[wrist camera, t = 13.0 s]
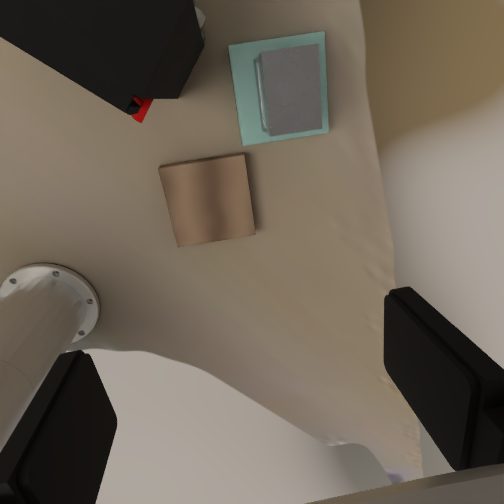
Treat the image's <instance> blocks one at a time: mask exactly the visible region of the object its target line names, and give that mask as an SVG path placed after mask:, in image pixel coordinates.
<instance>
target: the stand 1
mask: <svg viewBox="0 0 504 504" xmlns="http://www.w3.org/2000/svg"><path fill="white" fill-rule="evenodd" d="M158 170H159V174H160V178H161V182H162V186H163V190H164V194H165V198H166V202H167V206H168V210H169V214H170V218H171V222H172V226H173V230H174V234H175V238H176V242H177V246H178V247H183V246H189V245H195V244H202V243H208V242H214V241H220V240H226V239H232V238H238V237H244V236H250V235H256V233H255V226H254V219H253V212H252V205H251V198H250V191H249V185H248V178H247V171H246V164H245V157H244V153H236V154H230V155H224V156H217V157H211V158H204V159H198V160H192V161H185V162H179V163H173V164H166V165H161V166H160V167H159V168H158Z"/></svg>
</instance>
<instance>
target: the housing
mask: <svg viewBox="0 0 504 504" xmlns="http://www.w3.org/2000/svg"><path fill="white" fill-rule="evenodd" d="M258 56H259V57H257V58H255V59H254V60H253V61H254V70H255V78H256V86H257V95H258V103H259V112H260V120H261V129H262V131H263V132H267V135H269V136H270V137H272V136H278V135H285V134H291V133H298V132H304V131H311V130H317V129H323V128H322V107H321V86H320V65H319V44H318V43H317V44H310V45H304V46H297V47H290V48H283V49H277V50H270V51H263V52H260V54H259V55H258Z"/></svg>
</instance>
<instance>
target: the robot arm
mask: <svg viewBox="0 0 504 504" xmlns="http://www.w3.org/2000/svg"><path fill="white" fill-rule="evenodd" d="M99 313H100V305H99V300H98V297H97V294H96V293H95V291H94V289H93V288H92V286H91V285H90V284H89V283H88V282H87V281H86V280H85V279H84V278H83V277H81V276H80V275H79V274H77V273H75V272H74V271H72V270H70V269H67V268H65V267H63V266H59V265H54V264H46V263H39V264H31V265H27V266H24V267H22V268H20V269H18V270H16V271H15V272H13V273H12V274H11V275H9V276H8V277H7V278H6V279H5V280H4V282H3V284H2V285H1V287H0V504H95V503H96V499H97V496H98V492H99V489H100V485H101V482H102V478H103V475H104V471H105V468H106V464H107V460H108V457H109V454H110V450H111V446H112V443H113V439H114V436H115V432H116V429H117V417H116V414H115V411H114V409H113V407H112V405H111V402H110V400H109V397H108V395H107V393H106V391H105V388H104V386H103V383H102V381H101V379H100V376H99V374H98V372H97V369H96V367H95V365H94V363H93V360H92V358H91V356H90V355H89V354H85V353H84V352H83V351H82V350H77V351H72V352H67V353H65V352H66V350H67V349H68V347H69V345H70V344H71V343H74V342H76V341H79V340H81V339H82V338H84V337H85V336H87V335H88V334H89V333H90V332H91V331H92V330H93V328H94V326H95V324H96V323H97V320H98V318H99ZM384 365H385V368H386V371H387V373H388V374H389V376H390V377H391V379H392V380H393V382H394V383H395V384H396V386H397V387H398V389H399V390H400V392H401V393H402V395H403V396H404V398H405V399H406V401H407V402H408V404H409V405H410V407H411V408H412V410H413V411H414V413H415V414H416V416H417V417H418V418H419V420H420V421H421V423H422V424H423V426H424V427H425V429H426V430H427V432H428V433H429V435H430V436H431V438H432V439H433V441H434V442H435V444H436V445H437V446H438V448H439V449H440V451H441V453H442V454H443V455H444V457H445V458H446V460H447V461H448V463H449V464H450V466H451V467H452V468H453V469H454V470H455V471H457V472H452V473H447V474H441V475H436V476H432V477H427V478H421V479H416V480H412V481H407V482H403V483H398V484H393V485H389V486H384V487H380V488H376V489H370V490H366V491H361V492H357V493H353V494H347V495H343V496H338V497H334V498H329V499H325V500H320V501H315V502H311V503H307V504H504V369H503V368H501V367H500V366H499V365H498V364H497V363H496V362H495V361H493V360H492V359H491V358H490V357H489V356H488V355H487V354H486V353H485V352H483V351H482V350H481V349H480V348H479V347H478V346H477V345H476V344H474V343H473V342H472V341H471V340H470V339H469V338H468V337H466V336H465V335H464V334H463V333H462V332H461V331H460V330H459V329H457V328H456V327H455V326H454V325H453V324H451V323H450V322H449V321H448V320H447V319H446V318H445V317H444V316H443V315H441V314H440V313H439V312H438V311H437V310H436V309H435V308H434V307H432V306H431V305H430V304H429V303H428V302H427V301H426V300H425V299H423V298H422V297H421V296H420V295H419V294H418V293H417V292H416V291H414V290H413V289H412V288H411V287H403V288H397V289H392V290H390V292H389V295H386V296H385V299H384Z"/></svg>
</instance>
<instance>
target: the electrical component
mask: <svg viewBox="0 0 504 504" xmlns="http://www.w3.org/2000/svg"><path fill="white" fill-rule="evenodd" d="M194 2H195V0H0V37H2V38H3V39H5V40H7V41H8V42H10V43H11V44H13V45H15V46H16V47H18V48H20V49H21V50H23V51H25V52H26V53H28V54H30V55H31V56H33V57H34V58H36V59H38V60H39V61H41V62H43V63H44V64H46V65H48V66H49V67H51V68H53V69H54V70H56V71H57V72H59V73H61V74H62V75H64V76H66V77H67V78H69V79H71V80H72V81H74V82H76V83H77V84H79V85H80V86H82V87H84V88H85V89H87V90H89V91H90V92H92V93H94V94H95V95H97V96H98V97H100V98H102V99H103V100H105V101H107V102H108V103H110V104H112V105H113V106H115V107H117V108H118V109H120V110H121V111H123V112H125V113H127V114H129V115H131V116H132V117H133V118H134V119H135V120H136V121H138V122H140V123H142V121H143V119H144V117H145V115H146V113H147V111H148V109H149V107H150V105H151V103H152V101H153V99H178V97H179V95H180V93H181V91H182V89H183V87H184V85H185V83H186V81H187V79H188V77H189V75H190V73H191V71H192V69H193V67H194V65H195V63H196V61H197V59H198V57H199V55H200V53H201V51H202V50H203V48H204V40H205V36H204V32H202V31H201V30H200V28H202V26H203V24H204V22H205V20H206V18H205V16H204V15H203V14H202V11H201V10H200V9H199V8H197V7H196V6H194Z"/></svg>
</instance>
